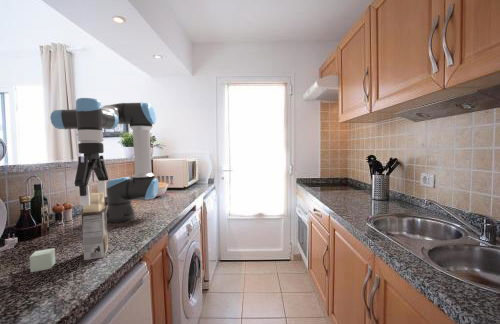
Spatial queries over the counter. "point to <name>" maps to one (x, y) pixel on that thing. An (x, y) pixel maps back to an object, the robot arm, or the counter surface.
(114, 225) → the counter surface
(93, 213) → the coffee box
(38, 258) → the sage block
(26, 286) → the counter surface
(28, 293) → the counter surface
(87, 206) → the maple block
